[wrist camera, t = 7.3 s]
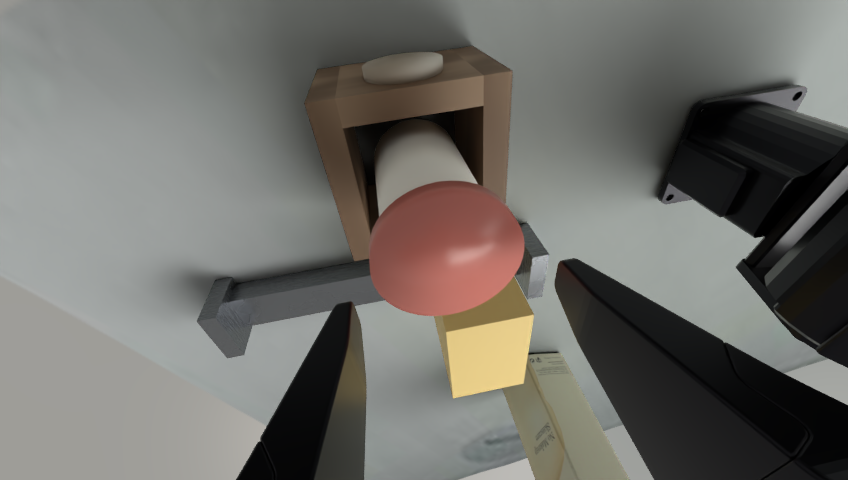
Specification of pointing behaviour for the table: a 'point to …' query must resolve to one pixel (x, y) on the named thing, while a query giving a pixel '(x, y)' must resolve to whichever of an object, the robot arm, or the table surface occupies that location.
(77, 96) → the table surface
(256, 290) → the rail
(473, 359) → the block
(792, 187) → the robot arm
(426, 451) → the table surface
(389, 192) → the plunger
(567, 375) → the skincare box
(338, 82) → the brown wooden box
